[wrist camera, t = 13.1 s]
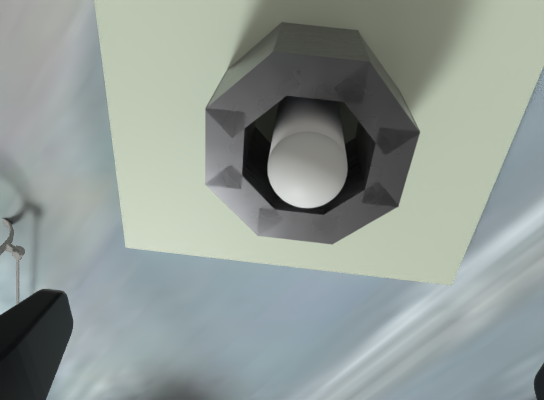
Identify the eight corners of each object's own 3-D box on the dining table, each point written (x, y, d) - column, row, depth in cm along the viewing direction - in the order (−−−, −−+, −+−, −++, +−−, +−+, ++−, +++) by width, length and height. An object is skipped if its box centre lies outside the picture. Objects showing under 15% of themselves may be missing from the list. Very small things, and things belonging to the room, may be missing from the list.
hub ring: (411, 35, 15) (439, 69, 12) (372, 191, 19) (385, 250, 15) (228, 15, 15) (205, 43, 12) (223, 174, 19) (204, 229, 16)
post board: (599, -120, 14) (817, -147, 8) (445, 268, 22) (492, 394, 16) (89, -169, 14) (-74, -231, 8) (134, 232, 23) (71, 343, 17)
